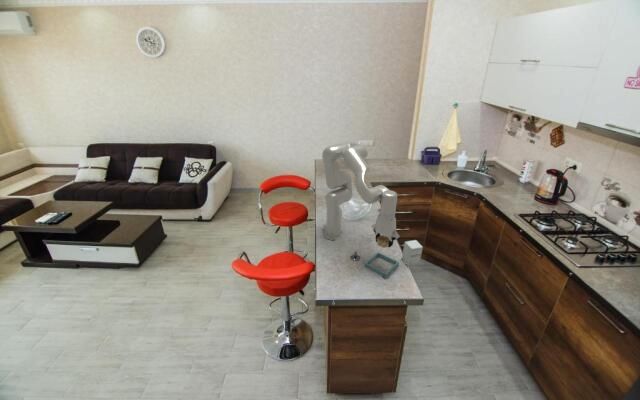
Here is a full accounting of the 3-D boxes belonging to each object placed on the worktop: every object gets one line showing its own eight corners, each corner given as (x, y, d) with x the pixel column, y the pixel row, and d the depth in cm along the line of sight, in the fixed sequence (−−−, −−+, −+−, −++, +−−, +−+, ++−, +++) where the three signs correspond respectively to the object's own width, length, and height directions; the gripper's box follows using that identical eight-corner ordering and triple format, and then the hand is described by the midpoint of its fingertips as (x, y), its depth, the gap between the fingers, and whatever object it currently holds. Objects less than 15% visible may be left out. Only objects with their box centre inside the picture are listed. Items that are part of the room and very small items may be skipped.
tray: (364, 267, 169) (364, 263, 168) (377, 256, 178) (377, 251, 177) (385, 279, 161) (386, 274, 160) (398, 266, 170) (399, 262, 169)
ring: (374, 243, 162) (375, 239, 161) (381, 238, 167) (382, 233, 165) (386, 248, 158) (386, 244, 156) (392, 243, 163) (393, 238, 161)
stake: (347, 259, 175) (348, 252, 173) (353, 254, 179) (354, 247, 177) (356, 263, 172) (357, 256, 170) (362, 259, 176) (363, 252, 174)
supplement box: (407, 267, 170) (411, 248, 164) (401, 259, 176) (404, 241, 170) (419, 265, 172) (423, 246, 166) (412, 257, 178) (416, 239, 172)
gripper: (368, 211, 157) (366, 240, 165) (399, 223, 147) (394, 253, 155) (376, 206, 162) (373, 234, 170) (406, 217, 152) (402, 246, 160)
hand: (383, 243), depth 162 cm, fingers closed on ring, 7 cm apart
